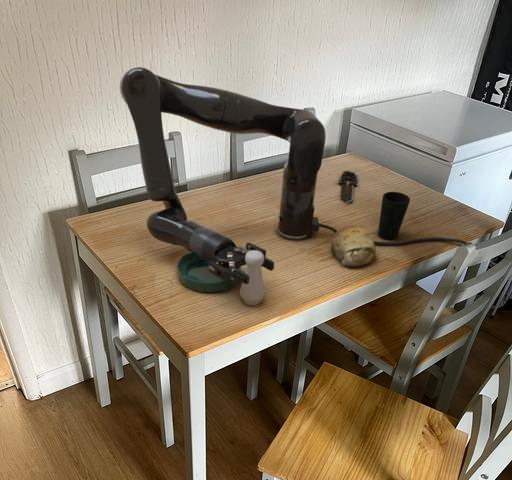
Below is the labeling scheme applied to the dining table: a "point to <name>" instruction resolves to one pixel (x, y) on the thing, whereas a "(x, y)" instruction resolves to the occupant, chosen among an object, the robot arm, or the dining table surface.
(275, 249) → the dining table surface
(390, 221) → the cup
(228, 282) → the teal round dish
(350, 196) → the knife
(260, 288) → the salt shaker
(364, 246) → the pastry
